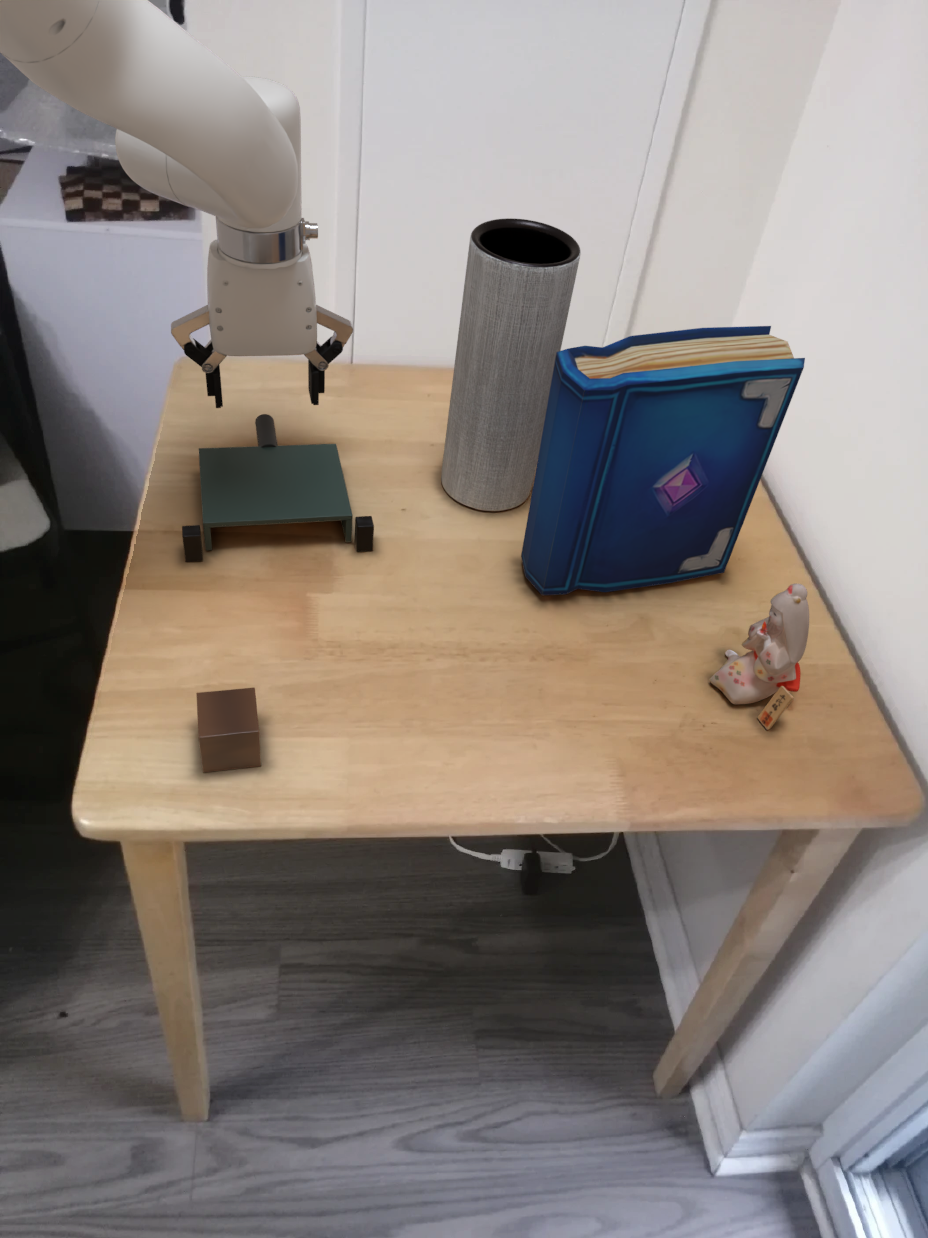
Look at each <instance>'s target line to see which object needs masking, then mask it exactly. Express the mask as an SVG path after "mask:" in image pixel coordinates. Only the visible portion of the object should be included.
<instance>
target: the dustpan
mask: <svg viewBox="0 0 928 1238" xmlns="http://www.w3.org/2000/svg"><path fill="white" fill-rule="evenodd" d="M254 425H255V432H256V439H257V445H255V446H254V445H253V446H227V447H226V446H224V447H223V446H221V447H199V448H198V462H199V481H200V497H201V512H202V513H201V514H202V529H203V538H204V547H205V549H204V550H205V551H212V550H213V544H212V541H213V540H212V529H211V528H225V527H243V526H262V525H283V524H300V523H301V524H302V523H318V522H319V523H320V522H336V521H340V523H341V529H342V532H343V537H344V542H345V543H352V541H353V540H352V539H353V519H354V518H353V516H354V515H353V511H352V507H351V502H350V498H349V497H350V496H349V494H348V488H347V484H346V481H345V476H344V471H343V467H342V463H341V459H340V458H341V457H340V455H339V450H338V445H337V443H315V444H314V443H313V444H310V443H309V444H284V445H283V444H282V445H279V444H278V438H277V430H276V426H275V425H276V424H275V420H274V418H273V416H271V415H270V414H268V413H262V414H259V415H258V416H256V418H255V421H254Z"/></svg>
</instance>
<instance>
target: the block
mask: <svg viewBox="0 0 928 1238" xmlns="http://www.w3.org/2000/svg"><path fill="white" fill-rule="evenodd" d="M196 713H197V716H196V717H197V738H198V747H199V752H200V761H201V768H202V769H201V770H202V773H211V772H219V771H228V770H229V771H230V770H238V769H247V768H254V767H255V768H256V767H262V756H261V740H260V739H261V738H260V736H261V735H260V727H259V726H260V725H259V715H258V714H259V713H258V705H257V696H256V688H255V687H244V688H234V689H223V690H212V691H203V692H196Z"/></svg>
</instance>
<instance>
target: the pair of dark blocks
mask: <svg viewBox="0 0 928 1238" xmlns="http://www.w3.org/2000/svg"><path fill="white" fill-rule="evenodd" d="M354 517H355V519H354V539H353V541H354V542H353V543H354V547H355V551H356V553H357V552H372V551H373V547H374V534H375V533H374V532H375V525H374V521H373V517H372V515H362V516H361V515H359V516H354ZM181 535H182V545H183V552H184V561H185V563H193V562H194V563H195V562H203V561H204V557H203V555H204V552H203V543H202V533H201V525H200V524H192V525H182V526H181Z"/></svg>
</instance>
